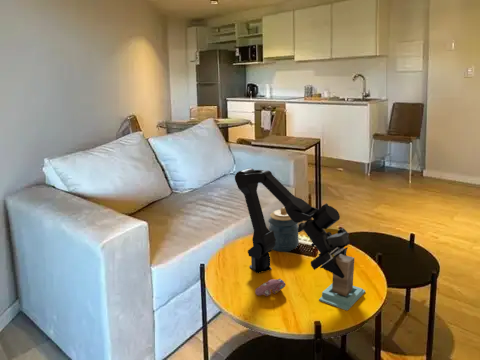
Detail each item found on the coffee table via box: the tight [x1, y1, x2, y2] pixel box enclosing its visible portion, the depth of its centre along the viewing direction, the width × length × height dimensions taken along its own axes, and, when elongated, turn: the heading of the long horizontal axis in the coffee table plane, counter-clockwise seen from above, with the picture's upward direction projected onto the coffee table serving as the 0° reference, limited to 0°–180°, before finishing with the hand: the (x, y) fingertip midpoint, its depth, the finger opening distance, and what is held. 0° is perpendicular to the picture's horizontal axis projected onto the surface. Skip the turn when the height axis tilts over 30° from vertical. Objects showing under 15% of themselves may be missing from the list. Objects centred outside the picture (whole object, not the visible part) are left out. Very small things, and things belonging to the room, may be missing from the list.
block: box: [331, 254, 355, 297], centre depth 138 cm, size 5×5×12 cm
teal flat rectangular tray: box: [318, 283, 366, 311], centre depth 139 cm, size 14×10×2 cm
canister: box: [267, 206, 300, 253], centre depth 177 cm, size 13×13×18 cm
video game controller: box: [255, 278, 286, 297], centre depth 142 cm, size 10×5×7 cm
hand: (346, 274), depth 137 cm, fingers closed on block, 5 cm apart
